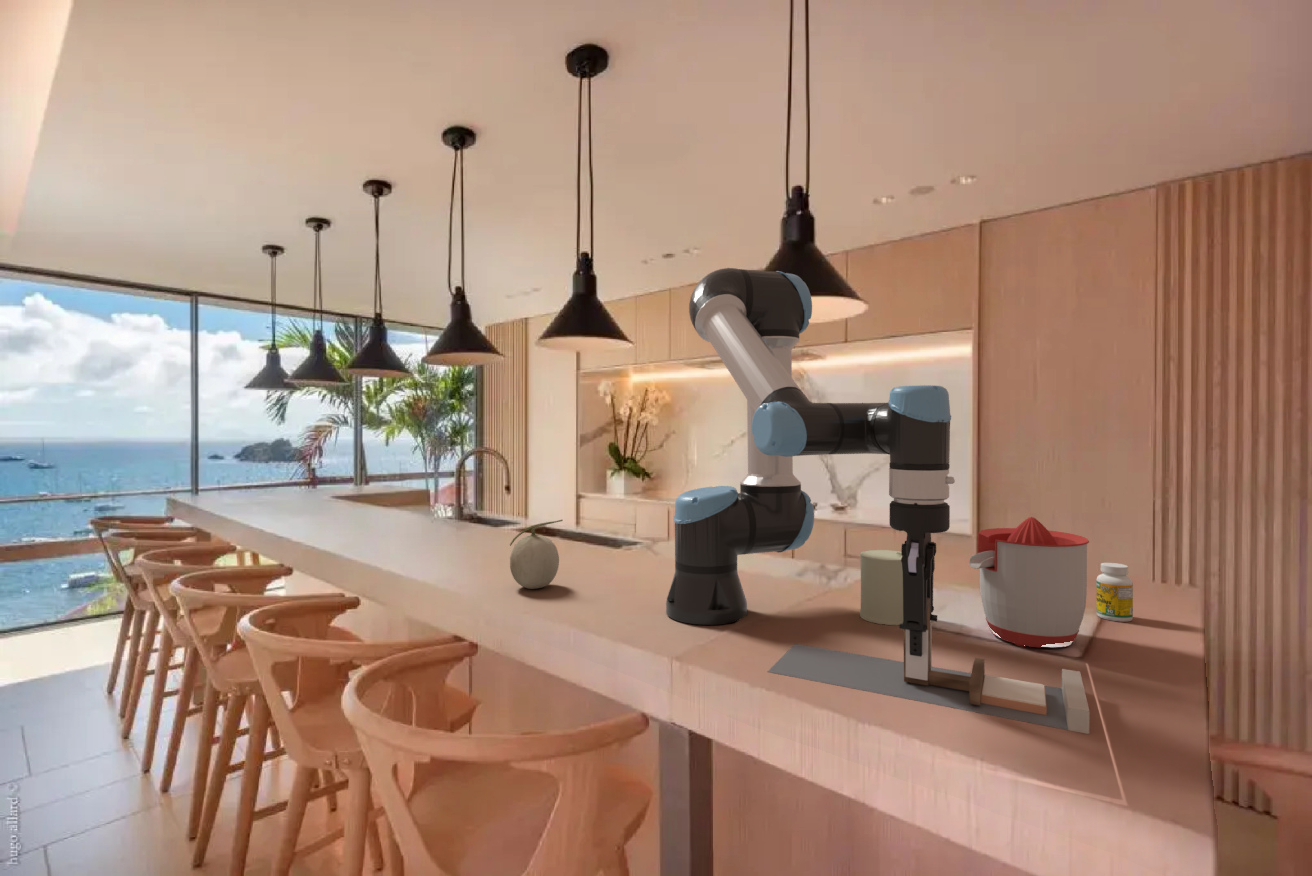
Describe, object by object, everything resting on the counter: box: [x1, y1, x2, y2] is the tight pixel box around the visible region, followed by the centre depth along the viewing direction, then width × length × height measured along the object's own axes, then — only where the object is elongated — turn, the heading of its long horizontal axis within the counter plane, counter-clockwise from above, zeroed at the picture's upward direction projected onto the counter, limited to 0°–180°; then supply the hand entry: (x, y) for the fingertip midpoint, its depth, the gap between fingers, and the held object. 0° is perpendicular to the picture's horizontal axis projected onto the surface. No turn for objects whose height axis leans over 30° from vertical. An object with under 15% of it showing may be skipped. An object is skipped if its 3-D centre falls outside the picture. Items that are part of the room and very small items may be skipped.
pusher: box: [902, 597, 986, 705], centre depth 86 cm, size 9×10×11 cm
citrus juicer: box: [968, 516, 1090, 649], centre depth 105 cm, size 16×17×20 cm
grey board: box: [767, 643, 1090, 735], centre depth 87 cm, size 38×13×3 cm, turn 60°
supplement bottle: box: [1095, 562, 1134, 623], centre depth 116 cm, size 5×5×10 cm
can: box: [859, 549, 903, 626], centre depth 117 cm, size 9×9×12 cm
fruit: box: [509, 519, 563, 590], centre depth 140 cm, size 10×12×15 cm
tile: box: [981, 674, 1047, 715], centre depth 82 cm, size 7×7×1 cm
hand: (918, 672), depth 87 cm, fingers closed on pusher, 3 cm apart
